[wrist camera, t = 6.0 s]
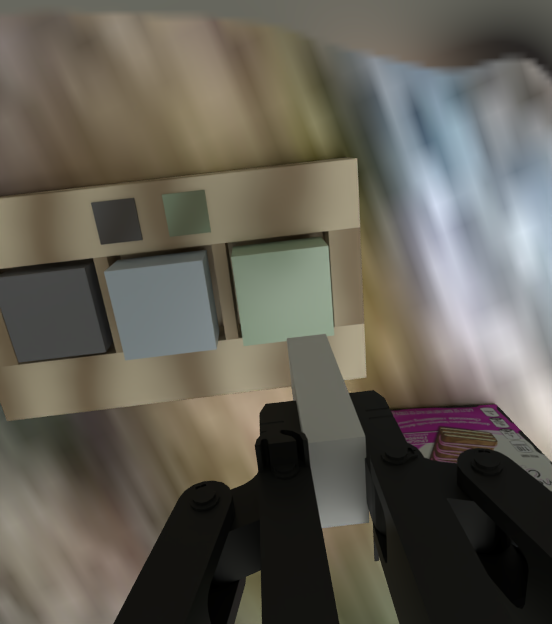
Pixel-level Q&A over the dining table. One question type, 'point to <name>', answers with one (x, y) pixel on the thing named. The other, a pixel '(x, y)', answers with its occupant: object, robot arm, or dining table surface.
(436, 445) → the candy bar box
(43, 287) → the key charcoal
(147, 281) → the key slate
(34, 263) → the keypad
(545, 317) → the dining table surface
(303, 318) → the key sage
